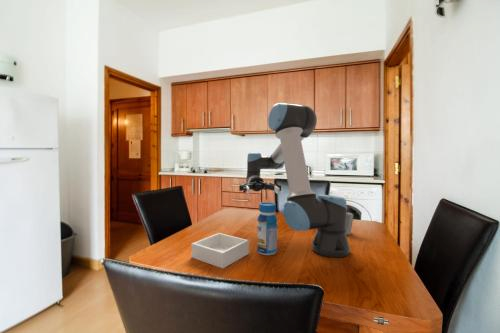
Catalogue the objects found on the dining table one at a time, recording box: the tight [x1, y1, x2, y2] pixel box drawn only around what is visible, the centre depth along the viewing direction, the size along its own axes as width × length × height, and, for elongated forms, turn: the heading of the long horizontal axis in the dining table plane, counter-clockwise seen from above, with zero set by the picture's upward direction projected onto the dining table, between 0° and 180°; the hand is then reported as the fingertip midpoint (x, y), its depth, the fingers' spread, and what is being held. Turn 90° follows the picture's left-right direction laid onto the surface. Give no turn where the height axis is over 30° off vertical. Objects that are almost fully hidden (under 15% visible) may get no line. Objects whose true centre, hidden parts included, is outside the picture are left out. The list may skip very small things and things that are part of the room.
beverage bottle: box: [256, 201, 279, 256], centre depth 102 cm, size 8×8×20 cm
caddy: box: [190, 232, 250, 269], centre depth 98 cm, size 16×16×6 cm
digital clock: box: [346, 212, 354, 236], centre depth 130 cm, size 16×9×11 cm, turn 31°
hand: (263, 191), depth 111 cm, fingers open, 13 cm apart
